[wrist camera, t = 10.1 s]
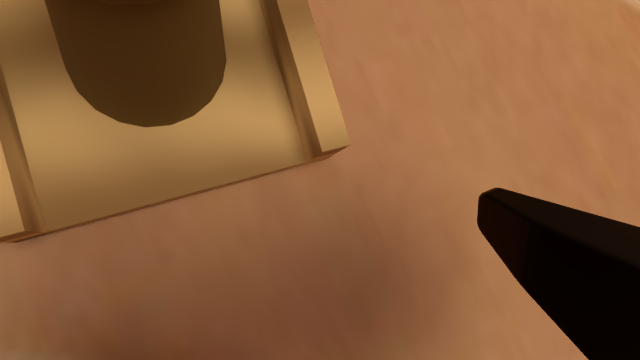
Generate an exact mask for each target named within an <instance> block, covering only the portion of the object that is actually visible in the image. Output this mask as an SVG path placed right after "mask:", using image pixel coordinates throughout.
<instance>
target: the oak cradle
mask: <svg viewBox="0 0 640 360" xmlns="http://www.w3.org/2000/svg"><path fill="white" fill-rule="evenodd" d="M219 3H220V11H221V19H222V27H223V35H224V43H225V51H226V59H227V61H226V66H225V72H224V77H223V82H222V84H221V85H220V87H219V89H218V91H217V92H216V94H215V96H214V97H213V99H212V101H211V102H210V103H208V104H207V105H206V106H205V107H204V108H203V109H201V110H200V111H199V112H198V113H197V114H195V115H194V116H192V117H190V118H188V119H185V120H183V121H180V122H178V123H175V124H173V125H168V126H156V127H141V126H136V125H131V124H126V123H121V122H118V121H116V120H114V119H112V118H110V117H108V116H107V115H105V114H103V113H101V112H99V111H97V110H95V109H94V108H93V107H92V106H91V105H90V104H89V103H88V102H87V101H86V100H85V99H84V98H83V97H82V96H81V95H80V94H79V93H78V92H77V90H76V88H75V86H74V85H73V83H72V81H71V79H70V77H69V75H68V73H67V71H66V69H65V66H64V62H63V59H62V56H61V53H60V49H59V46H58V43H57V40H56V36H55V33H54V30H53V27H52V23H51V20H50V17H49V14H48V11H47V7H46V4H45V1H44V0H0V243H3V242H20V241H23V240H27V239H31V238H34V237H38V236H42V235H46V234H49V233H53V232H57V231H60V230H64V229H68V228H71V227H75V226H79V225H83V224H86V223H90V222H94V221H97V220H101V219H105V218H108V217H112V216H116V215H120V214H123V213H127V212H131V211H134V210H138V209H142V208H146V207H149V206H153V205H157V204H160V203H164V202H168V201H171V200H175V199H179V198H183V197H186V196H190V195H194V194H197V193H201V192H205V191H208V190H212V189H216V188H220V187H223V186H227V185H231V184H234V183H238V182H242V181H245V180H249V179H253V178H257V177H260V176H264V175H268V174H271V173H275V172H279V171H282V170H286V169H290V168H294V167H297V166H301V165H305V164H308V163H312V162H316V161H319V160H323V159H327V158H329V157H331V156H332V155H334V154H336V153H337V152H339V151H341V150H343V149H344V148H346V147H348V146H349V145H351V143H350V140H349V137H348V133H347V130H346V127H345V123H344V120H343V117H342V114H341V110H340V107H339V104H338V100H337V97H336V94H335V91H334V87H333V84H332V81H331V78H330V74H329V71H328V68H327V64H326V61H325V58H324V55H323V51H322V48H321V45H320V41H319V38H318V35H317V32H316V28H315V25H314V22H313V19H312V15H311V12H310V9H309V5H308V2H307V0H219Z"/></svg>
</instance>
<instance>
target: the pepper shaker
mask: <svg viewBox="0 0 640 360" xmlns="http://www.w3.org/2000/svg"><path fill="white" fill-rule="evenodd" d="M44 1H45V4H46V7H47V11H48V14H49V17H50V20H51V23H52V27H53V30H54V33H55V36H56V40H57V43H58V46H59V49H60V53H61V56H62V59H63V62H64V66H65V69H66V71H67V73H68V75H69V77H70V79H71V81H72V83H73V85H74V86H75V88H76V90H77V92H78V93H79V94H80V95H81V96H82V97H83V98H84V99H85V100H86V101H87V102H88V103H89V104H90V105H91V106H92V107H93V108H94V109H95V110H97V111H99V112H101V113H103V114H105V115H107V116H108V117H110V118H112V119H114V120H116V121H118V122H121V123H126V124H131V125H136V126H141V127H156V126H168V125H173V124H175V123H178V122H180V121H183V120H185V119H188V118H190V117H192V116H194V115H195V114H197V113H198V112H199V111H200V110H201V109H203V108H204V107H205V106H206V105H207V104H208V103H210V102H211V101H212V99H213V97H214V96H215V94H216V92H217V91H218V89H219V87H220V85H221V84H222V82H223V77H224V72H225V66H226V61H227V59H226V51H225V43H224V35H223V27H222V19H221V11H220V3H219V0H44Z"/></svg>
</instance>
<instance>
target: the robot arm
mask: <svg viewBox="0 0 640 360" xmlns="http://www.w3.org/2000/svg"><path fill="white" fill-rule="evenodd" d="M477 223H478V227H479V229H480V231H481V232H482V234H483V235H484V237H485V238H486V239H487V241H488V242H489V243H490V245H491V246H492V247H493V249H494V250H495V251H496V253H497V254H498V255H499V257H500V258H501V260H502V261H503V262H504V264H505V265H506V266H507V268H508V269H509V270H510V272H511V273H512V274H513V276H514V277H515V278H516V280H517V281H518V282H519V283H520V285H521V286H522V287H523V288H524V289H525V290H526V291H527V293H528V294H529V295H530V296H531V297H532V298H533V299H534V300H535V301H536V303H537V304H538V305H539V306H540V307H541V308H542V309H543V310H544V311H545V312H546V313H547V315H548V316H549V317H550V318H551V319H552V320H553V321H554V322H555V323H556V324H557V326H558V327H559V328H560V329H561V330H562V331H563V332H564V333H565V334H566V335H567V336H568V338H569V339H570V340H571V341H572V342H573V343H574V344H575V345H576V346H577V347H578V349H579V350H580V351H581V352H582V353H583V354H584V355H585V356H586V357H587V358H588V359H589V360H640V227H637V226H634V225H630V224H626V223H623V222H619V221H616V220H612V219H609V218H605V217H602V216H598V215H594V214H591V213H587V212H584V211H580V210H577V209H573V208H570V207H566V206H562V205H559V204H555V203H552V202H548V201H545V200H541V199H538V198H534V197H530V196H527V195H523V194H520V193H516V192H513V191H509V190H505V189H502V188H493V189H491V190H488V191H486V192H483V193H482V194H481V195H480V196H479V201H478V215H477Z"/></svg>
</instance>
